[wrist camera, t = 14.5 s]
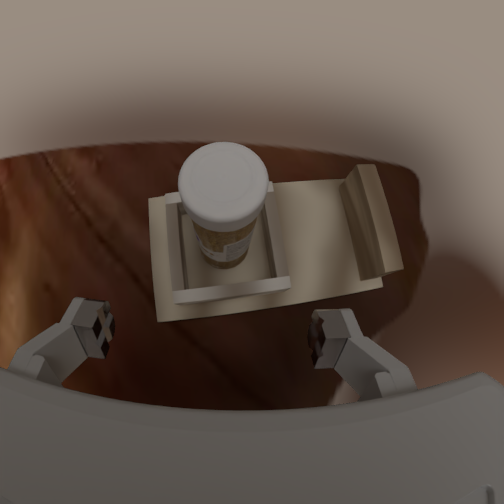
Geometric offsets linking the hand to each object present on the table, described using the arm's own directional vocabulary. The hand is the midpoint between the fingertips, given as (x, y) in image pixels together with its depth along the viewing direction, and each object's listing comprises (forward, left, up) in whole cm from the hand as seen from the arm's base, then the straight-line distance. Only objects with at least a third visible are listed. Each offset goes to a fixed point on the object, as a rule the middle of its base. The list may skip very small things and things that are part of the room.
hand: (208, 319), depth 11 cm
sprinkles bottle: (+1, +7, -15) cm, 16 cm away
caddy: (+5, +6, -16) cm, 18 cm away
